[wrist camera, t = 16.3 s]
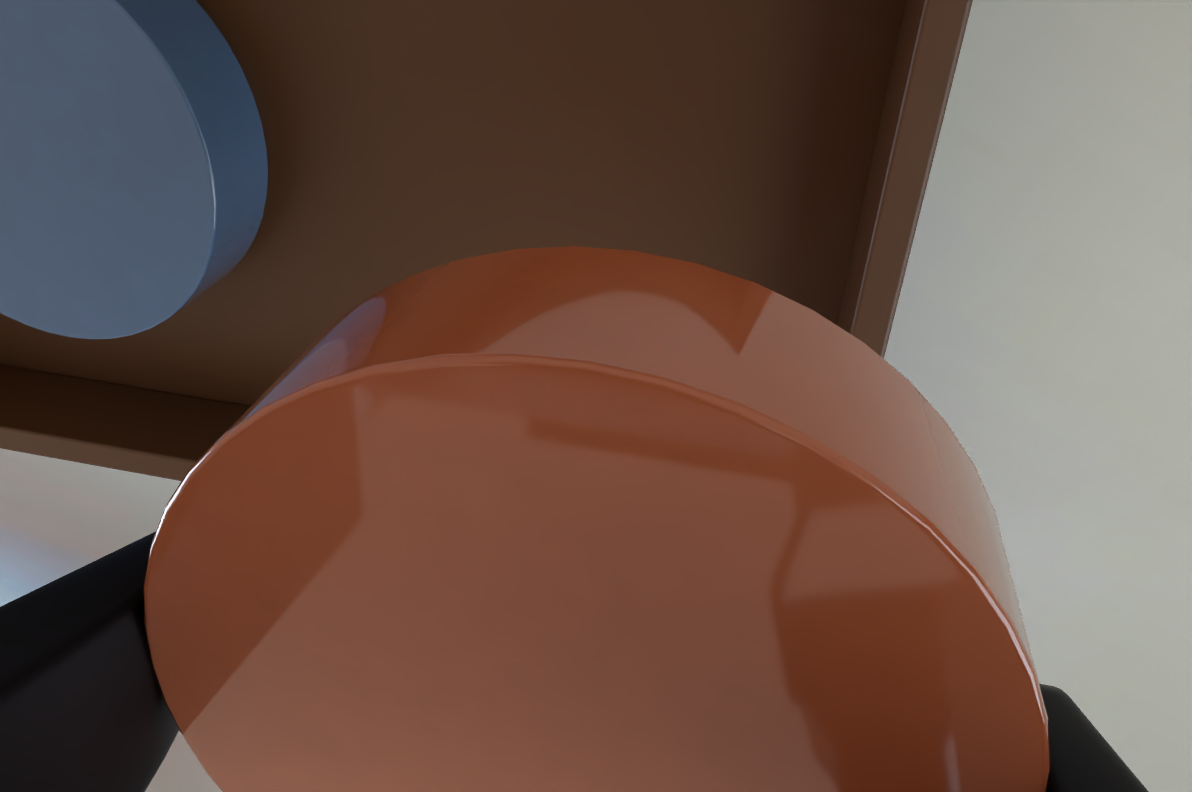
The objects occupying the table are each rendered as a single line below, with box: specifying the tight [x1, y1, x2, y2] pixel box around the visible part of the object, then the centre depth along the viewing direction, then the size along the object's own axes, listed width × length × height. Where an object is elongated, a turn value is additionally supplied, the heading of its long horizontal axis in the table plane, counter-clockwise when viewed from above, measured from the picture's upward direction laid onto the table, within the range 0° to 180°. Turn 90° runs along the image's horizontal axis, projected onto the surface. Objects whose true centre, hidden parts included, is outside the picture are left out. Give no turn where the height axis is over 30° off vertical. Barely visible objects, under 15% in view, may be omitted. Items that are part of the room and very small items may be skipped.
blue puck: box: [0, 0, 268, 339], centre depth 17 cm, size 7×7×2 cm
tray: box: [0, 0, 973, 481], centre depth 16 cm, size 20×13×3 cm, turn 87°
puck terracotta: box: [144, 246, 1050, 792], centre depth 8 cm, size 7×7×2 cm
